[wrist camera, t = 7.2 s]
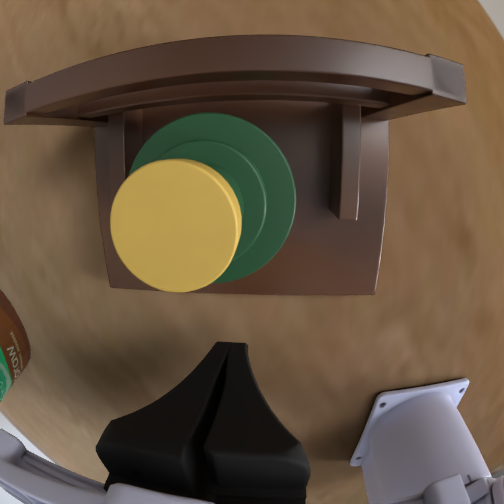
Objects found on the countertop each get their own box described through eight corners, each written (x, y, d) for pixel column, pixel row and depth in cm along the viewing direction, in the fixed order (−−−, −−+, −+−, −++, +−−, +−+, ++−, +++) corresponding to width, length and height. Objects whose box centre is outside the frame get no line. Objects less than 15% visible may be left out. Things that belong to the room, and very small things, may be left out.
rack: (371, 290, 15) (425, 377, 8) (114, 283, 16) (43, 354, 9) (383, 74, 11) (462, 26, 5) (101, 83, 12) (6, 58, 6)
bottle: (283, 229, 14) (302, 351, 5) (187, 228, 14) (85, 333, 5) (285, 130, 12) (313, 84, 4) (184, 132, 12) (54, 113, 4)
